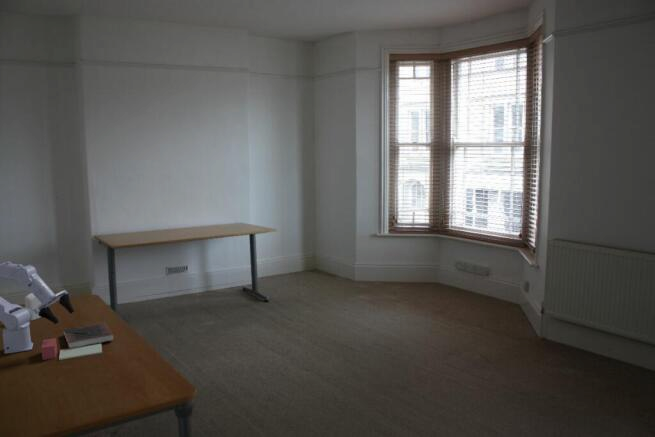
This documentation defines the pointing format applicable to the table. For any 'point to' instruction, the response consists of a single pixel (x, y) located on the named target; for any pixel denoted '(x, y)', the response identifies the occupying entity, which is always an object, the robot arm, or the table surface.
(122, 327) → the table surface
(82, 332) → the picture frame
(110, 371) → the table surface
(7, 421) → the table surface
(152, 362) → the table surface
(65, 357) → the sage mat
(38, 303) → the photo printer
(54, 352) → the card box
